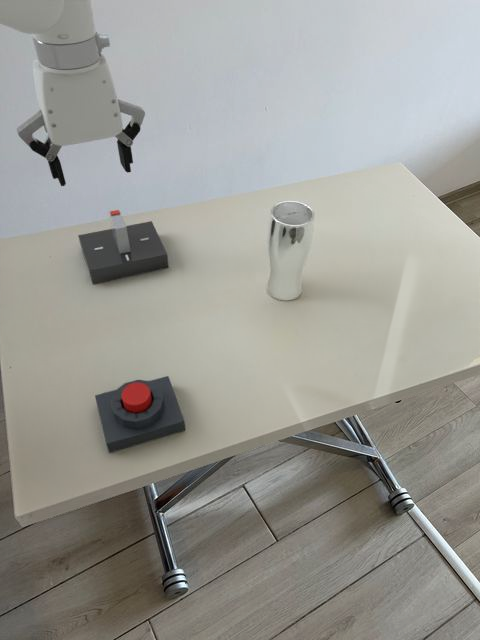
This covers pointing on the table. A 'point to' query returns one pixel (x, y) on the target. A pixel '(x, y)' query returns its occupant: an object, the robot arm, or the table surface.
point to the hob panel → (112, 264)
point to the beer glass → (288, 247)
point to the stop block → (139, 416)
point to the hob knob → (119, 231)
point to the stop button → (136, 397)
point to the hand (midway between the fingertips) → (94, 174)
